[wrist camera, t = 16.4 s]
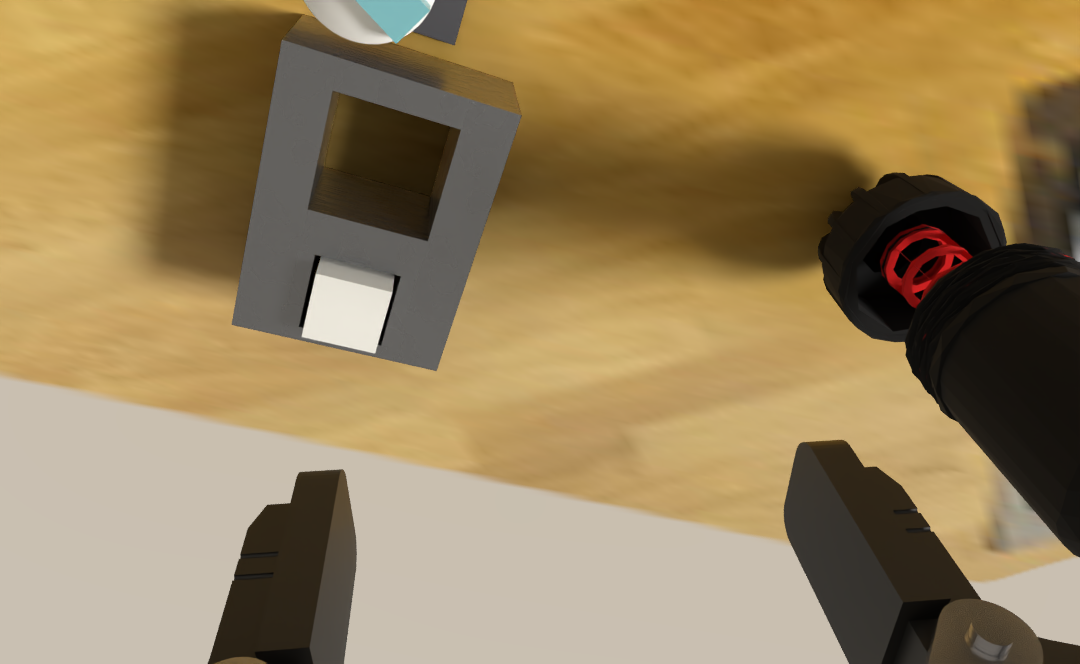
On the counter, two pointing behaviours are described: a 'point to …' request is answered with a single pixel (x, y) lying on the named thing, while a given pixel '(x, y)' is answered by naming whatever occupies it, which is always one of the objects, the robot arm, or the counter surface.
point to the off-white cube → (348, 305)
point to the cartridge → (371, 18)
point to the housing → (371, 190)
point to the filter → (972, 326)
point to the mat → (443, 20)
